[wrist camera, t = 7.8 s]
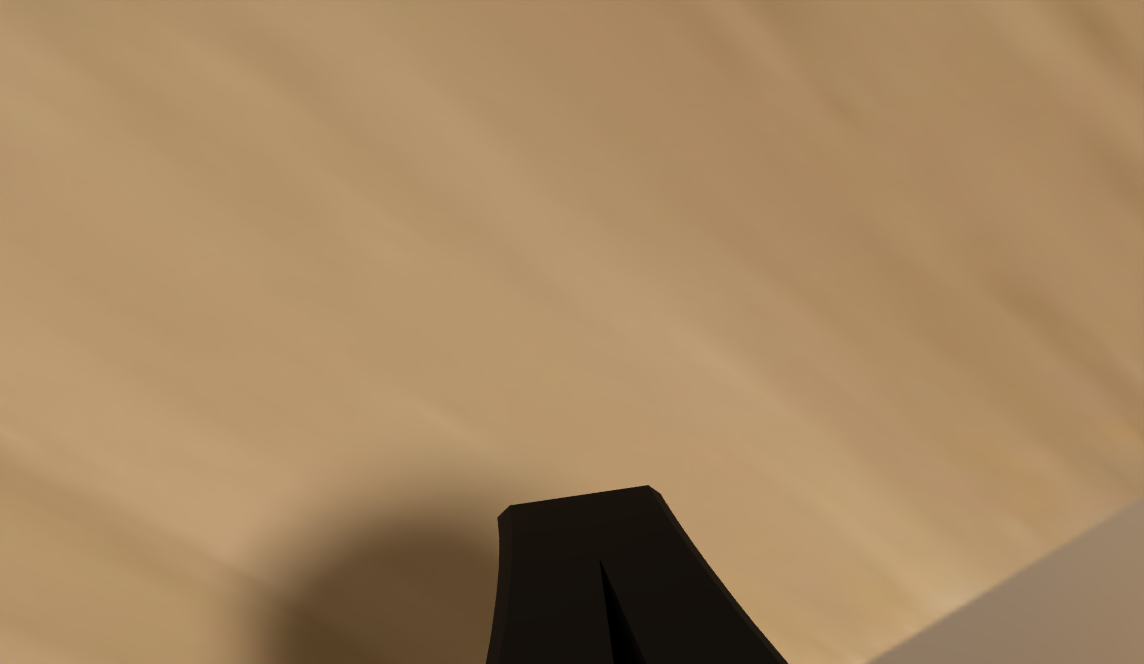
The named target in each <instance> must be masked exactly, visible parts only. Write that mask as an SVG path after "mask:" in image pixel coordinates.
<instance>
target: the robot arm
mask: <svg viewBox="0 0 1144 664" xmlns="http://www.w3.org/2000/svg"><path fill="white" fill-rule="evenodd" d="M498 529H499V572H498V584H497V595H496V603H495V610H494V617H493V625H492V632H491V639H490V644H489V650H488V655H487V660H486V664H788V663H787V661H786V660H785V659H784V658H783V657H782V656H781V654H780V653H779V652H778V651H777V650H776V648H775V647H774V646H773V645H772V644H771V643H770V641H769V640H768V639H767V638H766V637H765V636H764V634H763V633H762V632H761V631H760V630H759V628H758V627H757V626H756V625H755V624H754V622H753V621H752V620H751V619H750V617H749V616H748V615H747V614H746V612H745V611H744V610H743V609H742V607H741V606H740V605H739V604H738V602H737V601H736V600H735V599H734V597H733V596H732V595H731V593H730V592H729V591H728V590H727V588H726V587H725V586H724V584H723V583H722V582H721V580H720V579H719V578H718V576H717V575H716V574H715V572H714V571H713V570H712V569H711V567H710V566H709V565H708V563H707V562H706V560H705V559H704V558H703V556H702V555H701V554H700V552H699V551H698V549H697V548H696V547H695V545H694V544H693V542H692V541H691V540H690V538H689V537H688V535H687V534H686V532H685V531H684V530H683V528H682V527H681V525H680V524H679V522H678V521H677V519H676V517H675V516H674V514H673V513H672V511H671V510H670V508H669V507H668V505H667V504H666V502H665V500H664V499H663V497H662V495H661V494H660V493H659V492H657V491H656V490H654V489H653V488H652V487H650V486H649V485H646V486H639V487H632V488H626V489H619V490H612V491H605V492H598V493H592V494H585V495H578V496H571V497H564V498H558V499H551V500H544V501H537V502H530V503H524V504H517V505H510V506H509V507H508V508H507V509H506V510H505V511H504V512H503V513H502V514H501V515H500V516H499V517H498Z"/></svg>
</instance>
